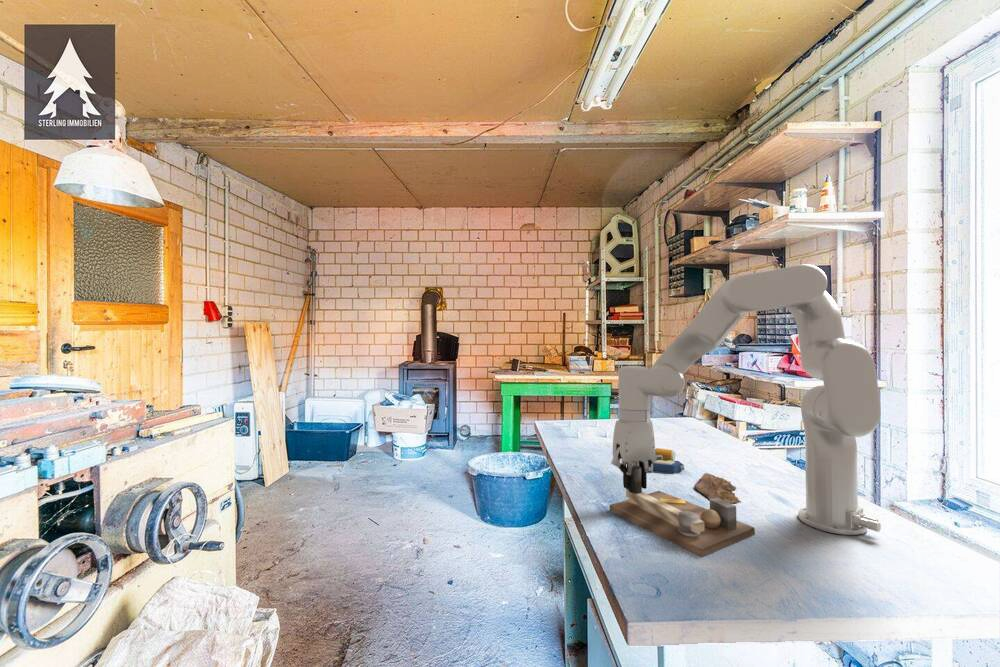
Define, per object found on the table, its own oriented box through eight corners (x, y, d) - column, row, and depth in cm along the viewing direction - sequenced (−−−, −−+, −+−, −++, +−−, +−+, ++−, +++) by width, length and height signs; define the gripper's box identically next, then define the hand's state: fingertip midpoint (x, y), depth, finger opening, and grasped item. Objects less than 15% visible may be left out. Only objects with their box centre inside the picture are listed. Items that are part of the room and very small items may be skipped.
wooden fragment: (743, 509, 110) (743, 505, 110) (695, 503, 114) (695, 499, 114) (730, 476, 134) (730, 473, 134) (691, 473, 138) (691, 469, 138)
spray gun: (667, 454, 157) (625, 456, 157) (667, 443, 157) (625, 445, 157) (693, 475, 136) (646, 477, 136) (693, 462, 136) (645, 464, 136)
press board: (754, 534, 96) (754, 504, 96) (702, 556, 87) (701, 524, 87) (659, 496, 119) (658, 472, 119) (609, 510, 110) (609, 485, 110)
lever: (707, 532, 92) (706, 492, 92) (693, 536, 91) (692, 495, 91) (636, 496, 113) (635, 464, 112) (623, 499, 111) (623, 466, 111)
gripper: (650, 410, 116) (650, 478, 116) (597, 415, 110) (598, 488, 110) (670, 415, 109) (671, 488, 110) (616, 421, 103) (617, 498, 103)
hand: (634, 487), depth 110 cm, fingers closed on lever, 3 cm apart
